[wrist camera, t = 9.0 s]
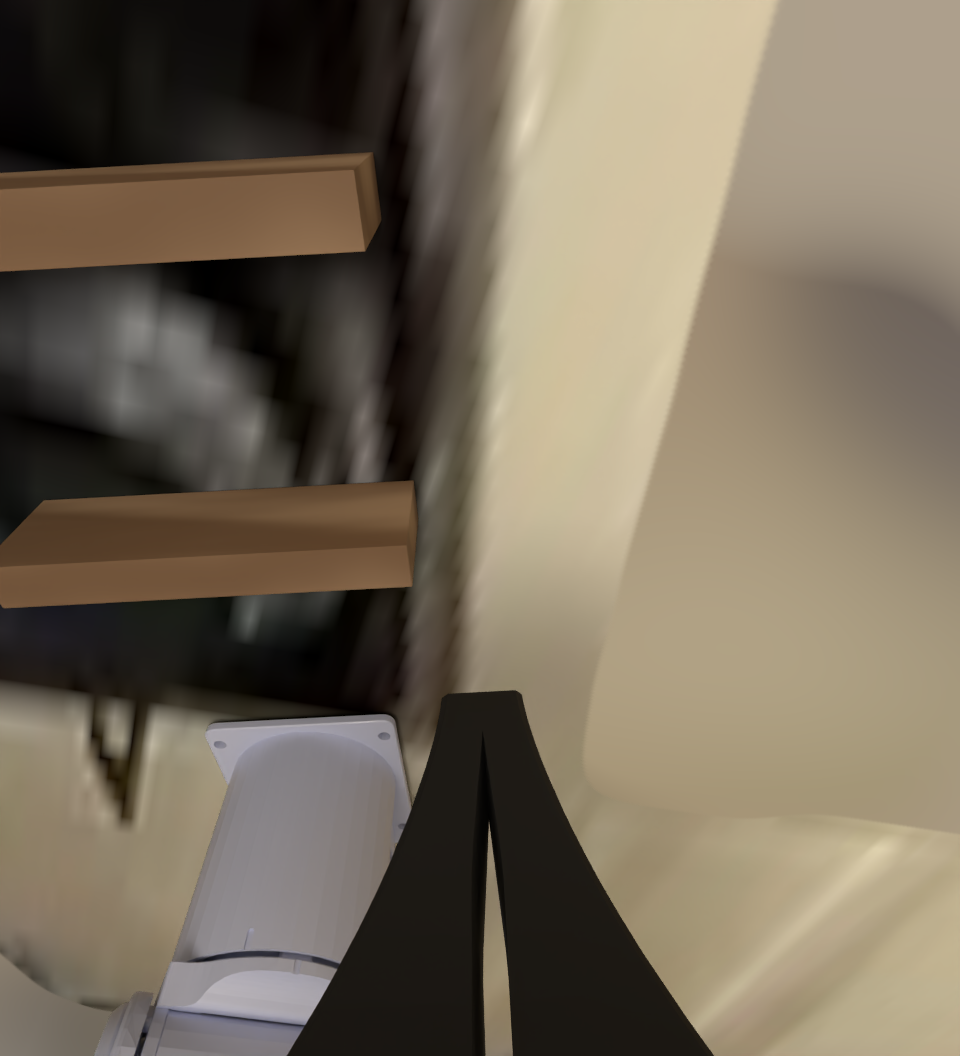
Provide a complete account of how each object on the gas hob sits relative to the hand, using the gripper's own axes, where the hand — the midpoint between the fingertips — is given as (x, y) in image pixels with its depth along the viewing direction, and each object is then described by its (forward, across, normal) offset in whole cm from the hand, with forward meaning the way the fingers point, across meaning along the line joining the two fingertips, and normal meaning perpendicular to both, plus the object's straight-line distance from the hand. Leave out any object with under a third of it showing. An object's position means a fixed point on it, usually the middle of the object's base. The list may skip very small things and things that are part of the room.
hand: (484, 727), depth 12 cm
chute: (+10, +8, -3) cm, 13 cm away
